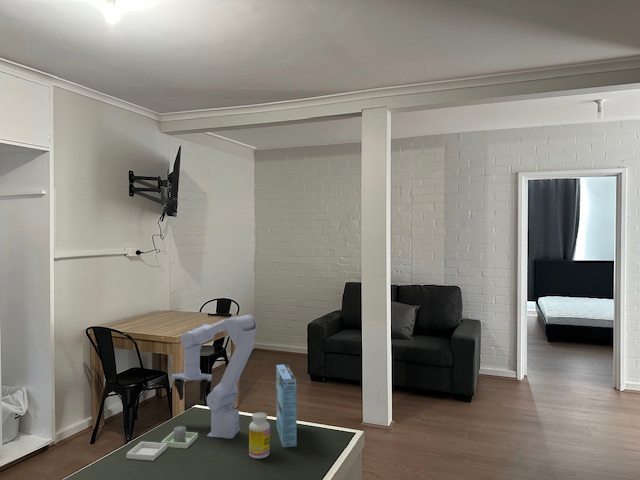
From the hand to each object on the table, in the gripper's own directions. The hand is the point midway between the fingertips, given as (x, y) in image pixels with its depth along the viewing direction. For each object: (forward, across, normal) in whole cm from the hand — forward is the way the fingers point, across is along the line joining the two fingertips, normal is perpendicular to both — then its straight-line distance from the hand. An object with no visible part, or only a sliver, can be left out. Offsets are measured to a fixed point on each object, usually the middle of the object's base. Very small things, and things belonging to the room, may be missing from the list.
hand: (191, 399), depth 178 cm
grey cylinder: (+9, +1, -16) cm, 19 cm away
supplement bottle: (+10, +29, -24) cm, 39 cm away
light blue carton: (+10, +36, -8) cm, 38 cm away
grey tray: (+9, -7, -25) cm, 28 cm away
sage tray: (+9, +1, -16) cm, 19 cm away
